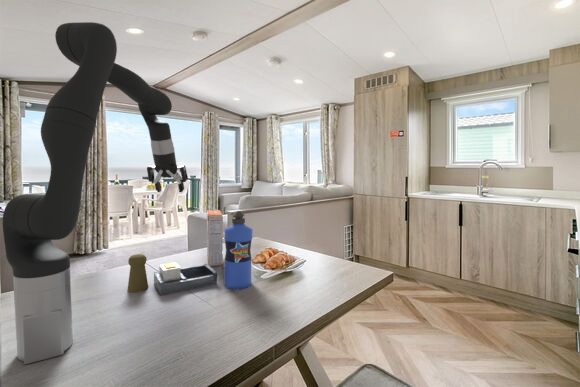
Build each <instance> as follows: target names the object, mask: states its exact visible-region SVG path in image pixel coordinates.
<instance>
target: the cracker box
mask: <svg viewBox="0 0 580 387" xmlns="http://www.w3.org/2000/svg"><path fill="white" fill-rule="evenodd" d="M223 218H224V217H223V214H222V212H221V210H220V209H209V210H206V245H207V246H206V247H207V249H206V251H207V252H206V253H207V254H206V255H207V262H208V264H207V265H209V266H210V267H217V266H220V267H221V266H223V265H224V264H223V261H224V260H223V254H222V251H223V249H224V246H223V239H224V237H223V236H224V233H223V231H224V229H223V224H224V222H223Z"/></svg>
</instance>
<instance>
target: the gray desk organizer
mask: <svg viewBox="0 0 580 387" xmlns="http://www.w3.org/2000/svg"><path fill="white" fill-rule="evenodd" d="M153 284H154V287H155V288H156V289H157V291H158V293H159V295H160V296H165V295H169V294H172V293H179V292H183V291H188V290H189V291H190V290H194V289H198V288H203V287H207V286H212V285H217V284H218V272H217V271H216V270H215V269H214V268H213V267H212V266H209V264H207V263H204V264H198V265H191V266H185V267H181V266H180V265H179V264H178V263H177V262H169V263H168V262H167V263H163V264H159V271H156V272H153Z"/></svg>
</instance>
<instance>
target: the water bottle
mask: <svg viewBox="0 0 580 387" xmlns="http://www.w3.org/2000/svg"><path fill="white" fill-rule="evenodd" d="M232 216H233V217H232V219H231V221H232V222H231V225H230V226H228V227H225V228H224V229H223V231H224V233H223V236H224V237H223V239H224V244H225V255H224V256H225V257H224V268H223V270H224V274H223V275H224V277H223V278H224V282H223V283H224V284H223V285H224V287H225V288H226V289H230V290H243V289H247V288H250V286H251V285H252V252H251V247H252V240H253V228H251V227H250V226H247V225H246V224H245V223H246V218H245V214H244V213H243V212H242V211H239V210H238V211H235V212H234V213H233V214H232Z"/></svg>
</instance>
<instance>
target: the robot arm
mask: <svg viewBox="0 0 580 387" xmlns="http://www.w3.org/2000/svg"><path fill="white" fill-rule="evenodd" d="M54 35H55V43H56V45H57V48H58V50H59V51H60V52H61V54H62V55H63V56H64V57H65V58H66V59H67V60H68V61H70V62H71V63H73V64H75V65H77V66H78V69H77V70H76V72H75V73H74V75H73V76H71V78H69V80H67V81H66V82H65V83H64V85H62V86H61V87H60V89H58V90H57V91H56V92H55V94H54V95H52V96H51V98H50V99H49V101H48V103H47V105H46V107H45V108H46V109H45V112H44V115H43V119H42V122H41V127H40V136H41V141H42V144H43V147H44V149H45V152H46V154H47V157H48V160H49V165H50V174H49V181H48V184H47V188H46V191H45V194H42V193H41V194H40V193H39V194H37V193H25V194H20V195H17V196H14V197H13V198H12V199H10V200H9V201H8V203H6V205H5V208H4V210H3V212H2V213H3V214H2V233H3V242H4V249H5V256H6V260H7V262H8V264H9V266H10V267H11V269H12V278H13V279H12V280H13V282H12V283H13V296H14V297H13V298H14V299H13V300H14V321H15V337H16V353H17V354H16V355H17V359H18V360H19V361H21V362H23V365H28V364H33V363H35V362H40V361H43V360H48V359H51V358H55V357H59V356H62V355H64V352H66V350H68V349H69V348H70V347H71V346H72V345H73V344H74V343H73V342H74V339H73V338H74V336H73V335H74V334H73V332H74V331H73V310H72V309H73V308H72V285H71V284H72V283H71V280H72V279H71V258H70V255H69V253H67V252H66V251H64V250H62V249H60V248H59V247H57V246H56V245H55V244H54V243H53V242H52V241H56V240H57V241H59V240H62V239H65V238H67V237H68V236H70V235H71V233H72V232H73V230H74V229H76V225H77V222H78V219H79V215H80V208H81V202H82V201H81V199H82V191H83V183H84V175H85V170H86V166H87V160H88V155H89V152H90V149H91V144H92V140H93V136H94V134H95V129H96V124H97V120H98V119H97V118H98V115H99V109H100V106H101V104H102V99H103V95H104V91H105V90H106V86H107V83H108V84H111V85H112V86H114V87H115V88H117V89H118V90H119V91H121V92H122V93H123V94H125V95H126V96H128V98H130V99H131V100H132V101H134V102H135V103H137V106H138V110H139V113H140V114H141V116H142V118H143V120H144V122H145V124H146V126H147V129H148V134H149V138H150V147H151V153H152V158H153V163H154V165H153V164H150V165H148V166H147V167H146V173H147V179H148V182H152V183H153V184H154V187H155V191H157V193H161V192H162V184H161V181H160V180H161V179H162V178H163V179H165V178H169V179H170V178H171V179H173V180H175V181H176V182H177V186H178V187H177V188H178V192H179V193H183V192H184V190H185V184H184V183H186V182H187V181H188V180H189V176H188V172H187V168H186V165H179V166H178V165H177V159H176V154H175V146H174V142H173V140H172V139H173V138H172V133H171V132H172V131H171V127H170V124H169V122H167V121H163V120H160V119H159V118H158V117H157V116H166V115H168V114H170V113H171V111H172V107H173V105H172V101H171V99H170V97H169V96H168V95H167V94H166V93H165V92H163V91H162V90H160V89H157V88H156V87H154V86H153V85H150V84H149V83H148V82H147V81H146V80H145V79H144V78H143V77H142V76H140V74H138V73H137V72H135V71H134V70H132V69H130V68H129V67H126V66H123V65H121V64H120V63H117V62H116V59H117V52H118V46H117V40H116V36H115V34H114V31H112V30H111V28H109V27H108V26H107V25H105V24H104V23H99V22H94V21H89V22H87V21H84V22H82V21H81V22H80V21H79V22H67V23H63V24H60V25H59V26H58V27H57V28H56V30H55V34H54ZM155 171H156V173H157V174H156V176H155ZM178 171H179V172H180V173H179V172H178Z"/></svg>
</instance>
